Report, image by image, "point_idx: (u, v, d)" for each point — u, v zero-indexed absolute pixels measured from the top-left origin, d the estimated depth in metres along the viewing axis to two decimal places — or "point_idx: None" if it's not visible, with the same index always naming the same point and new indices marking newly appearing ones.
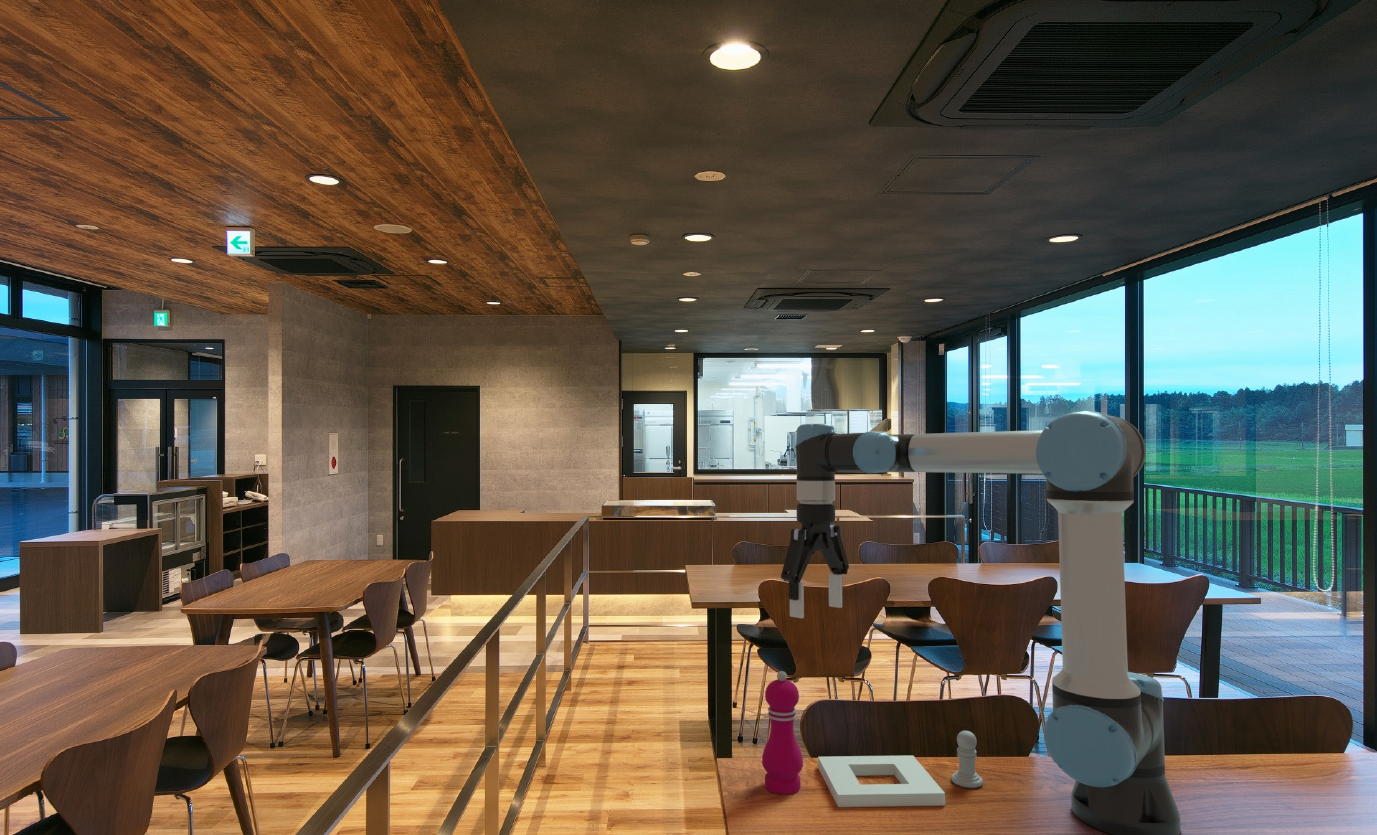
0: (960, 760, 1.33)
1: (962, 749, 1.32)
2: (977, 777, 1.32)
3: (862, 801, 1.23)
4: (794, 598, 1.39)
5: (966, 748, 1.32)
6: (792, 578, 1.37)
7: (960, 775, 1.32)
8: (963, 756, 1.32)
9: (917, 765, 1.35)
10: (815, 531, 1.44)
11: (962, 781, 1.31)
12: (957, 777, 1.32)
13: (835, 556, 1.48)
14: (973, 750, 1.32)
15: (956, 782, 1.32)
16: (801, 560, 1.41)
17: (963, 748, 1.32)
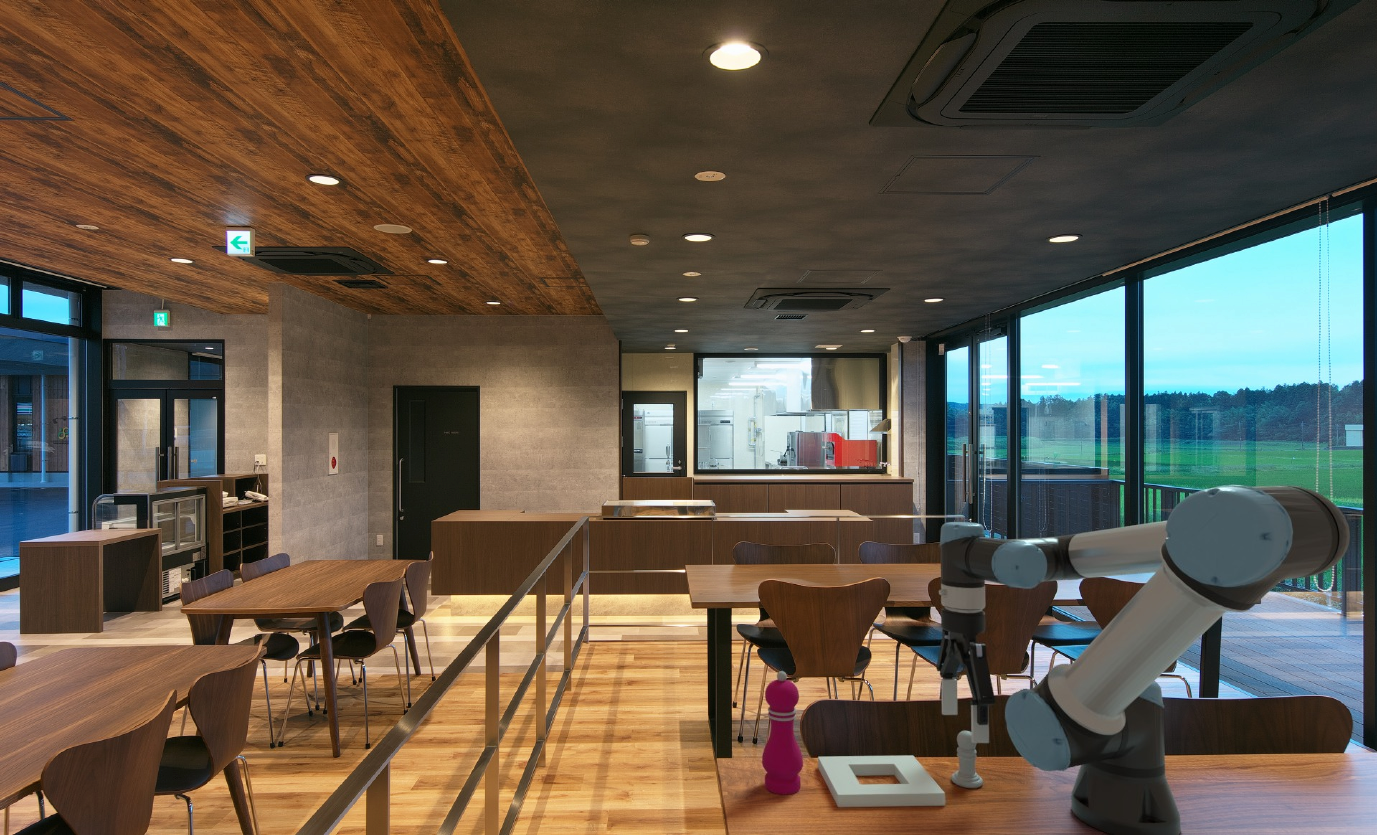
0: (960, 760, 1.33)
1: (962, 749, 1.32)
2: (977, 777, 1.32)
3: (862, 801, 1.23)
4: (986, 723, 1.26)
5: (966, 748, 1.32)
6: (994, 702, 1.24)
7: (960, 775, 1.32)
8: (963, 756, 1.32)
9: (917, 765, 1.35)
10: None
11: (962, 781, 1.31)
12: (957, 777, 1.32)
13: None
14: (973, 750, 1.32)
15: (956, 782, 1.32)
16: None
17: (963, 748, 1.32)
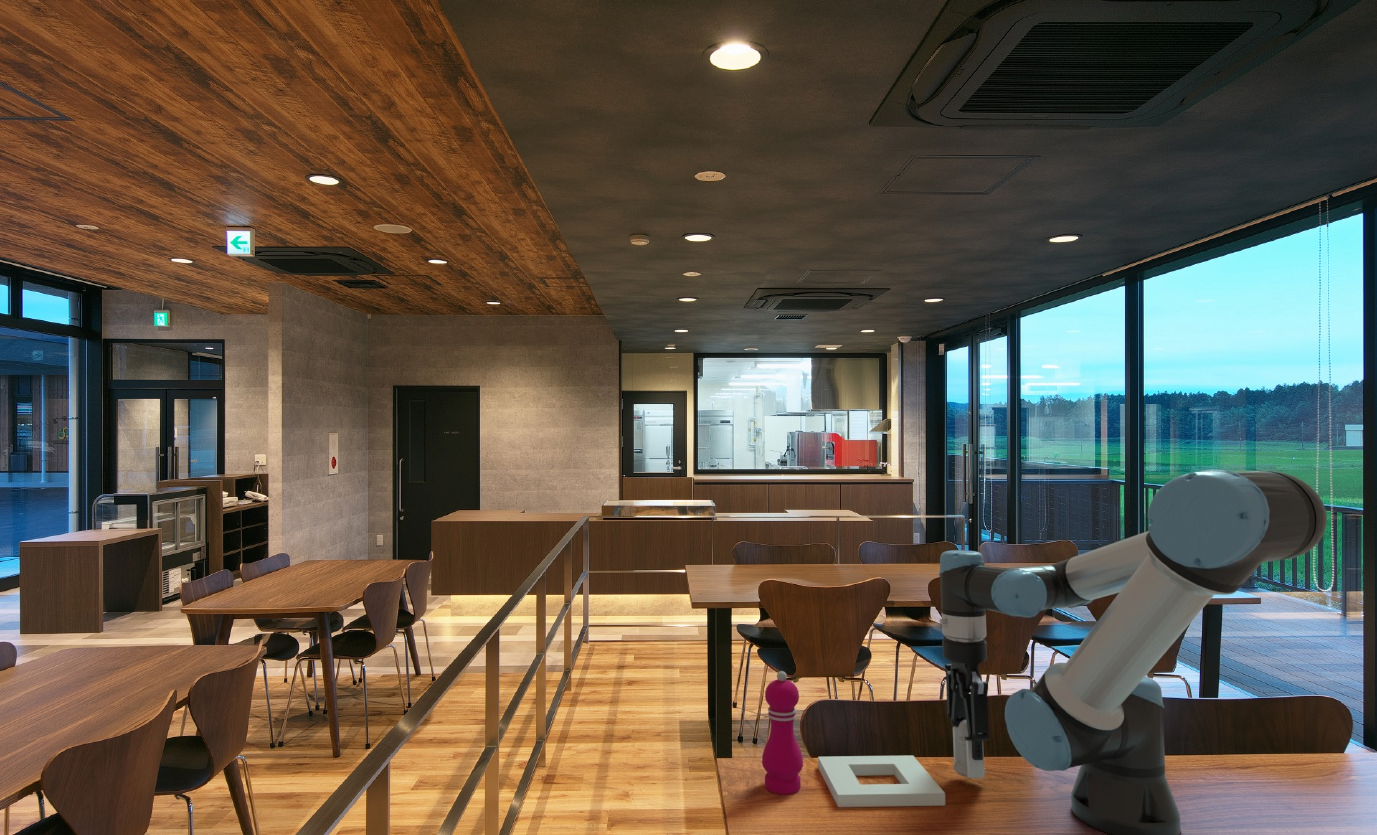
0: (962, 749, 1.32)
1: (964, 738, 1.32)
2: None
3: (862, 801, 1.23)
4: (981, 758, 1.28)
5: None
6: None
7: (962, 764, 1.32)
8: (965, 745, 1.32)
9: (917, 765, 1.35)
10: None
11: (964, 770, 1.31)
12: (959, 767, 1.32)
13: None
14: None
15: (958, 771, 1.31)
16: None
17: None
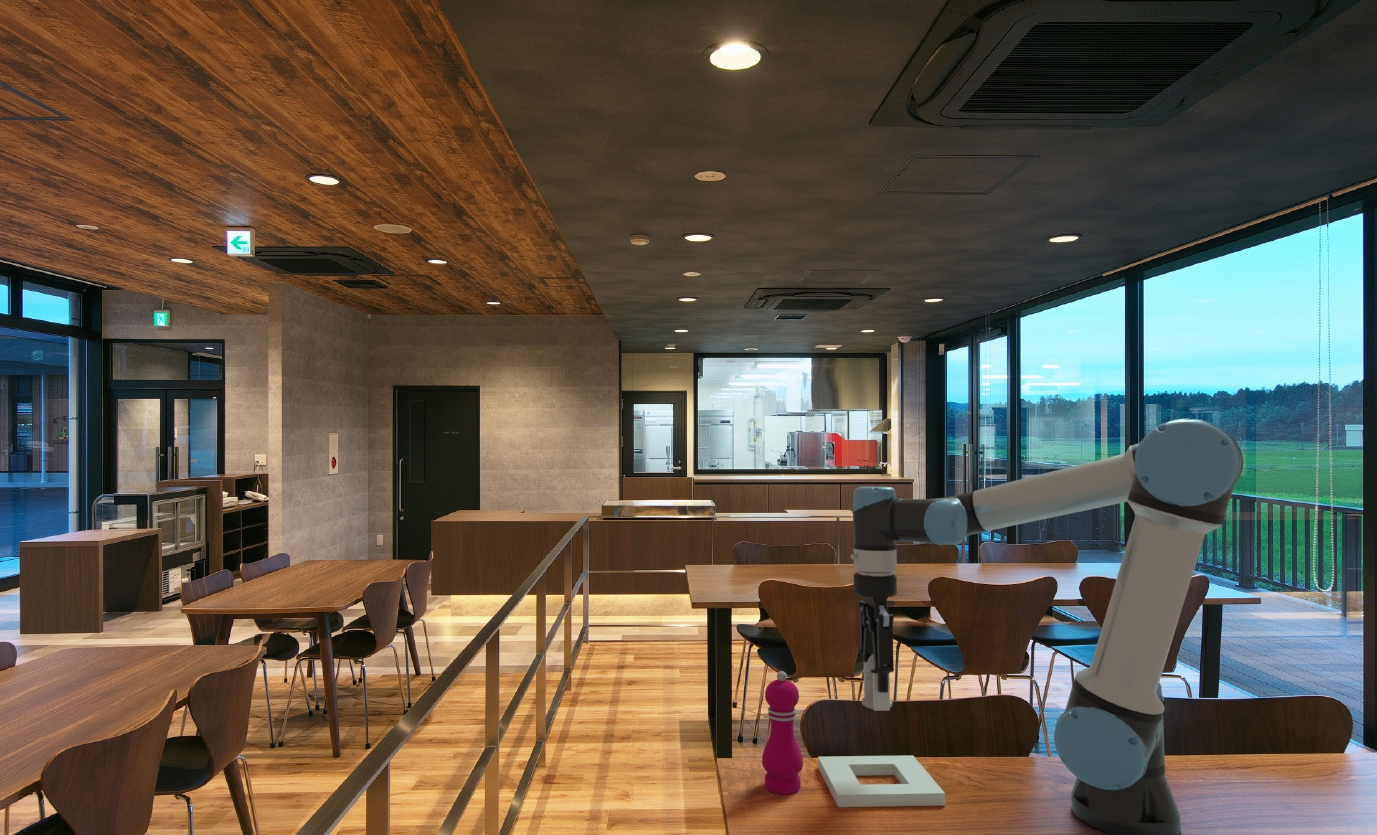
0: (870, 683, 1.32)
1: None
2: None
3: (862, 801, 1.23)
4: (886, 690, 1.28)
5: None
6: None
7: (870, 698, 1.32)
8: None
9: (917, 765, 1.35)
10: None
11: (871, 703, 1.31)
12: (866, 700, 1.32)
13: None
14: None
15: (865, 704, 1.31)
16: None
17: None
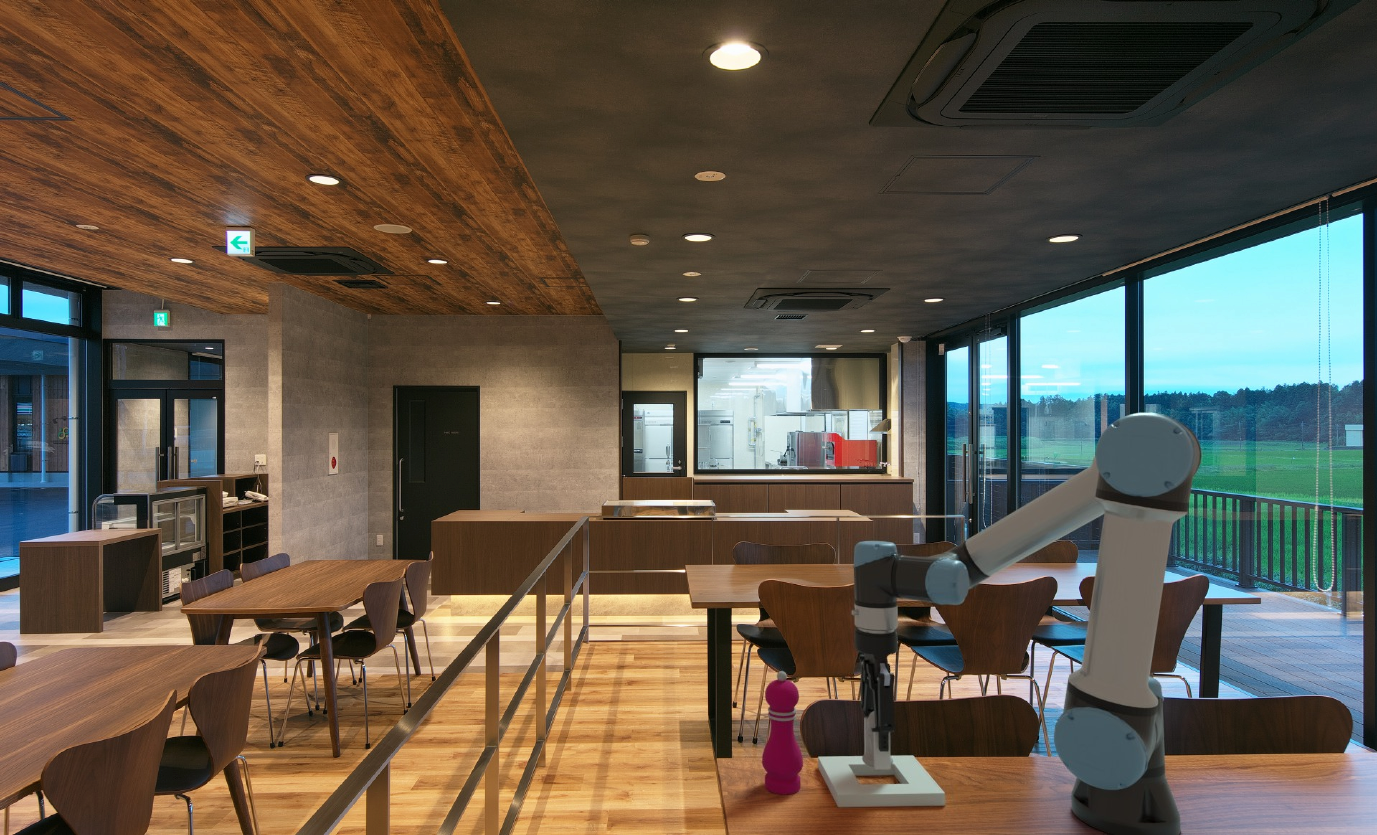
0: (871, 740, 1.32)
1: None
2: None
3: (862, 801, 1.23)
4: (887, 749, 1.28)
5: None
6: None
7: (870, 755, 1.31)
8: (873, 736, 1.31)
9: (917, 765, 1.35)
10: None
11: (871, 761, 1.30)
12: (867, 757, 1.31)
13: None
14: None
15: (866, 762, 1.31)
16: None
17: None
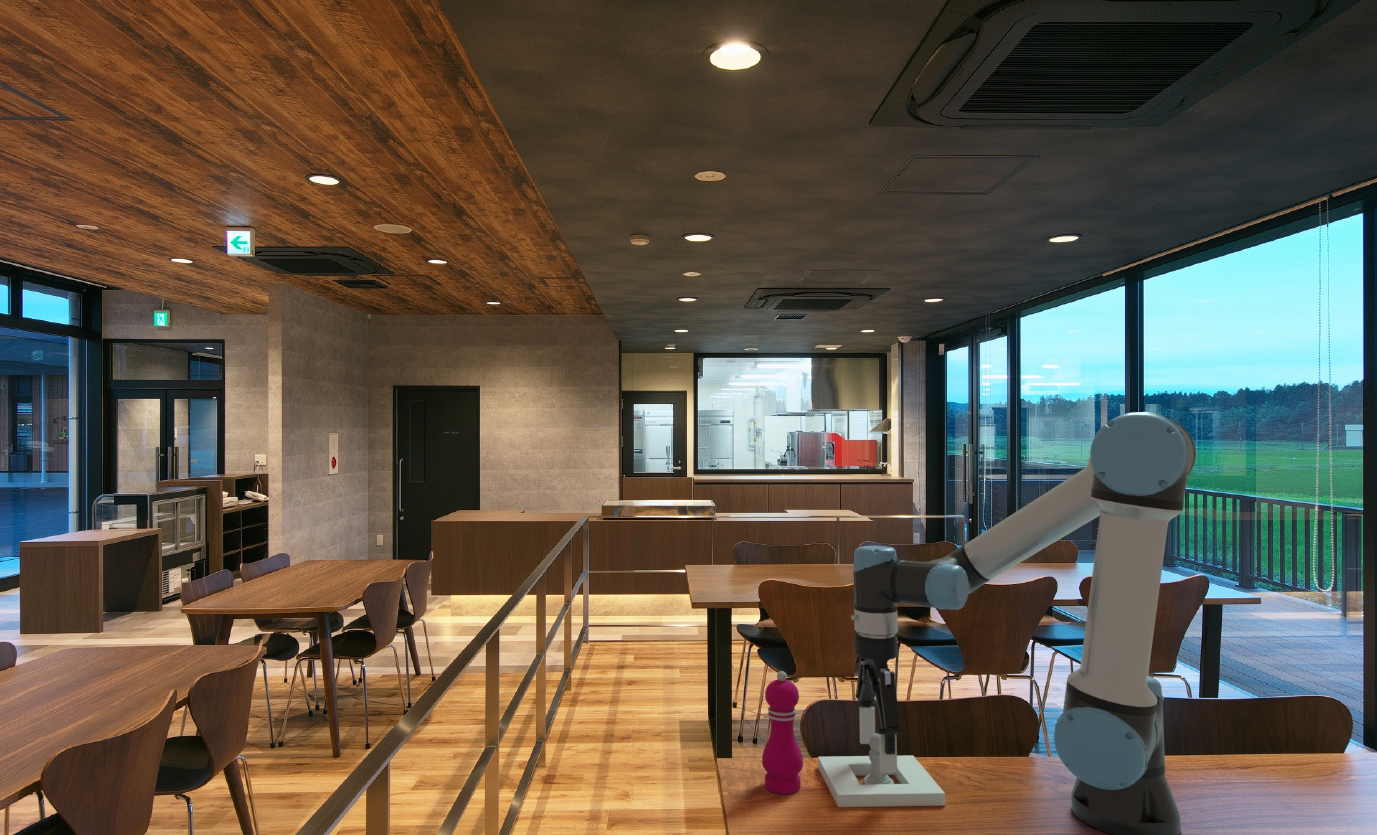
0: (872, 763, 1.31)
1: (873, 752, 1.31)
2: (888, 780, 1.30)
3: (862, 801, 1.23)
4: (893, 752, 1.24)
5: (877, 751, 1.31)
6: (900, 731, 1.23)
7: (871, 778, 1.31)
8: (874, 759, 1.31)
9: (917, 765, 1.35)
10: None
11: None
12: (868, 780, 1.31)
13: None
14: None
15: None
16: None
17: (874, 751, 1.31)
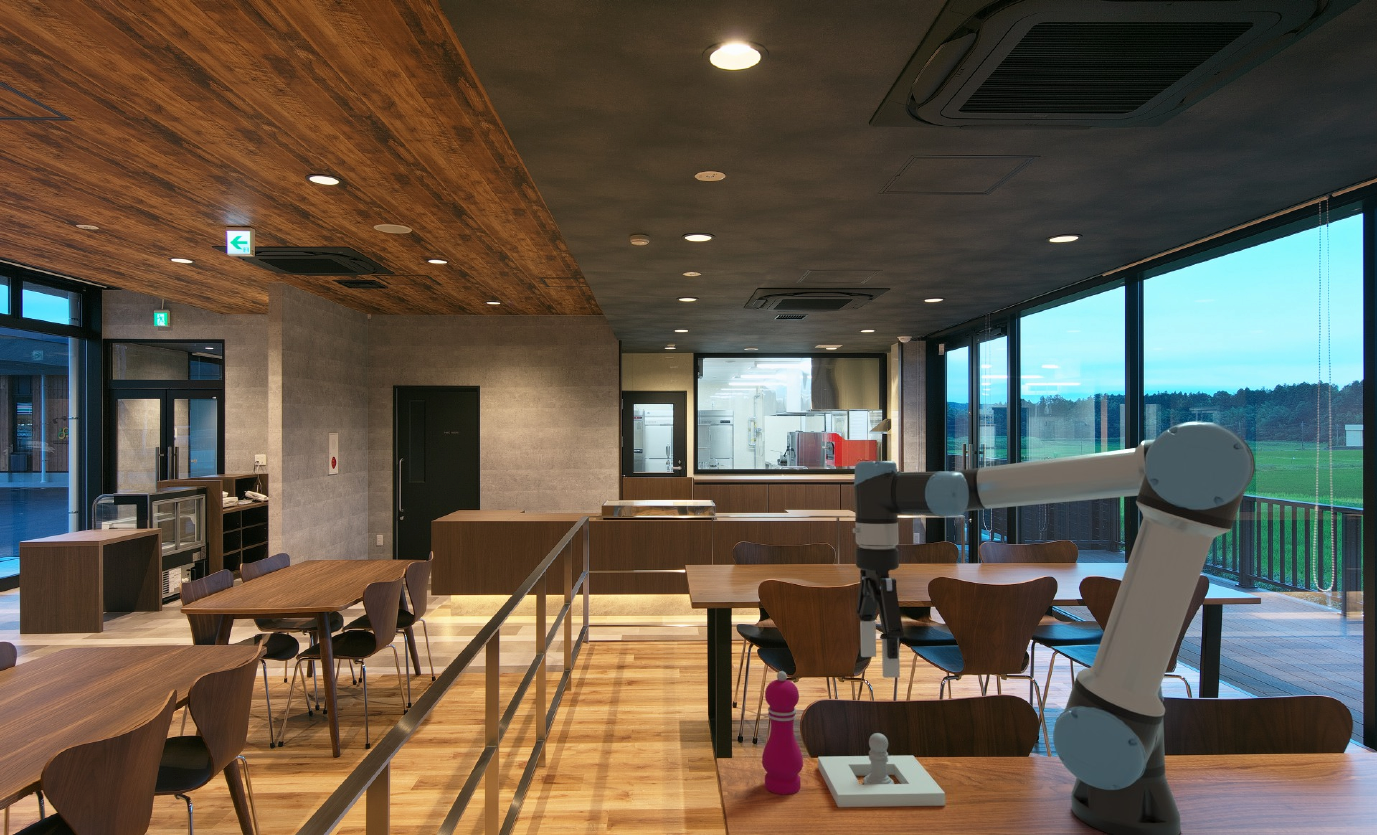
0: (871, 763, 1.31)
1: (873, 752, 1.31)
2: (888, 780, 1.30)
3: (862, 801, 1.23)
4: (896, 656, 1.25)
5: (877, 751, 1.31)
6: None
7: (871, 778, 1.31)
8: (874, 759, 1.31)
9: (917, 765, 1.35)
10: None
11: None
12: (868, 780, 1.31)
13: None
14: (884, 753, 1.31)
15: None
16: None
17: (874, 751, 1.31)
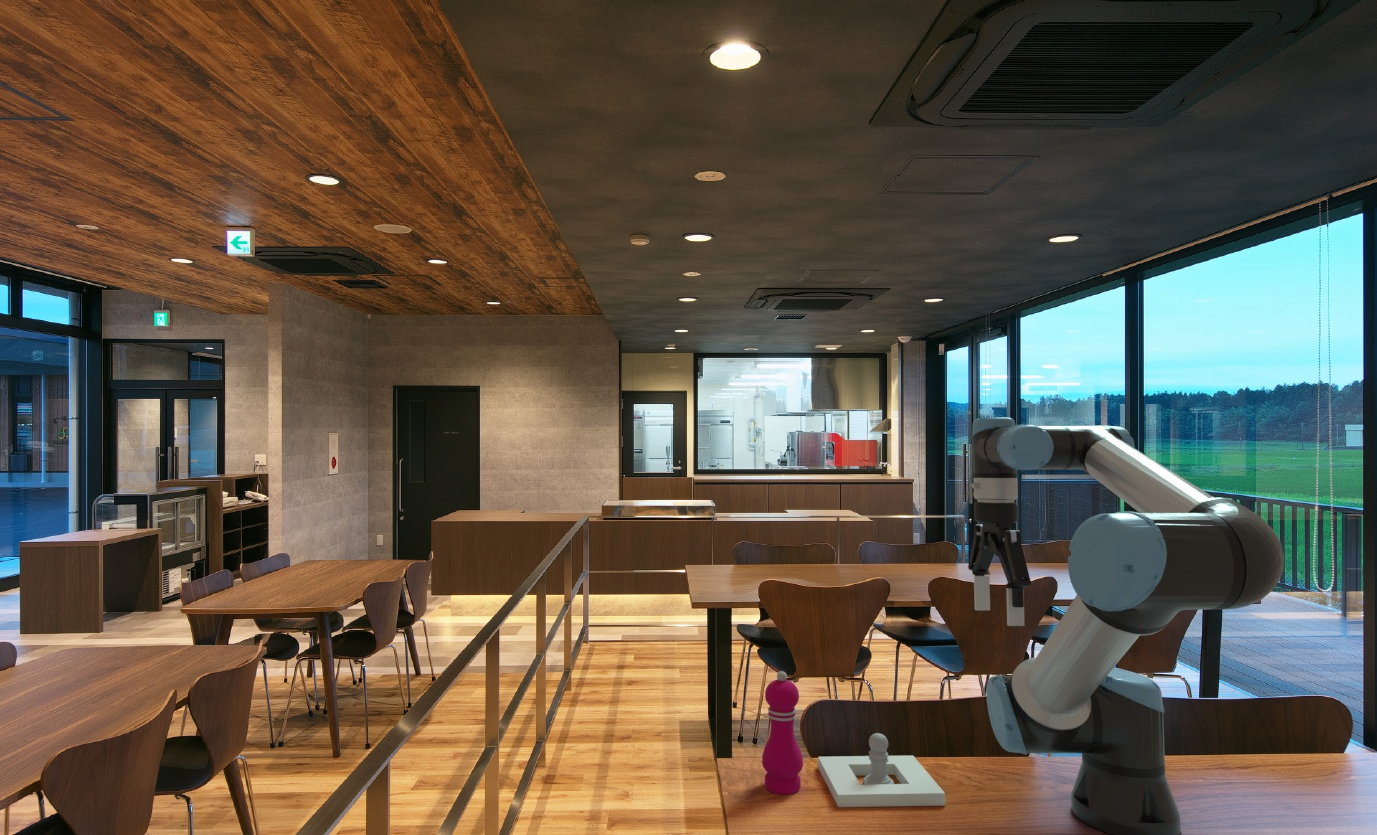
0: (871, 763, 1.31)
1: (873, 752, 1.31)
2: (888, 780, 1.30)
3: (862, 801, 1.23)
4: (1022, 605, 1.28)
5: (877, 751, 1.31)
6: None
7: (871, 778, 1.31)
8: (874, 759, 1.31)
9: (917, 765, 1.35)
10: None
11: None
12: (868, 780, 1.31)
13: None
14: (884, 753, 1.31)
15: None
16: None
17: (874, 751, 1.31)
